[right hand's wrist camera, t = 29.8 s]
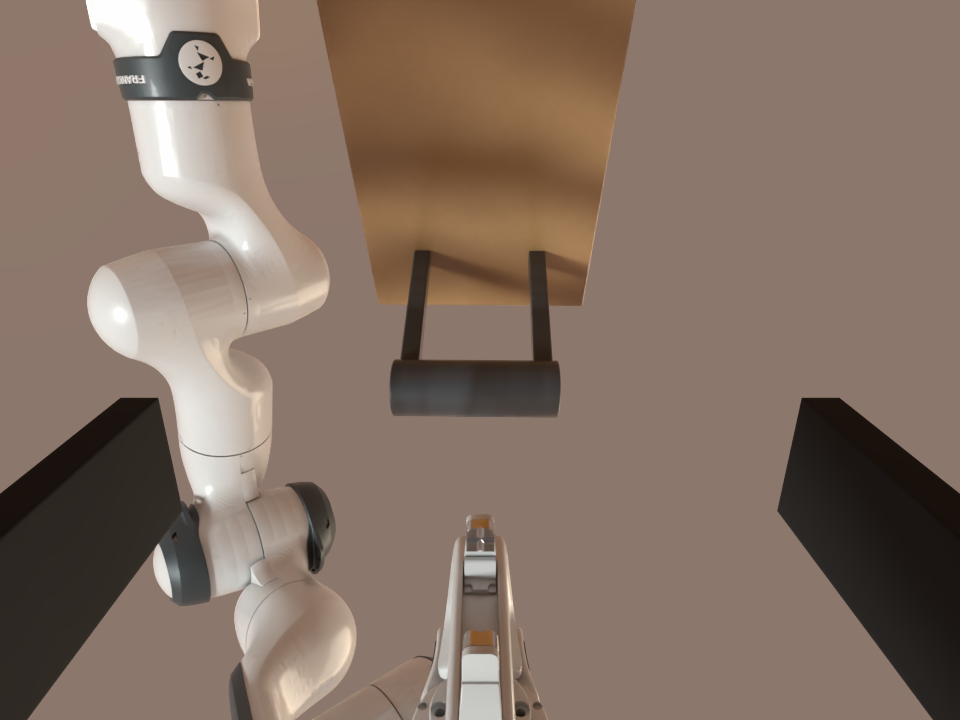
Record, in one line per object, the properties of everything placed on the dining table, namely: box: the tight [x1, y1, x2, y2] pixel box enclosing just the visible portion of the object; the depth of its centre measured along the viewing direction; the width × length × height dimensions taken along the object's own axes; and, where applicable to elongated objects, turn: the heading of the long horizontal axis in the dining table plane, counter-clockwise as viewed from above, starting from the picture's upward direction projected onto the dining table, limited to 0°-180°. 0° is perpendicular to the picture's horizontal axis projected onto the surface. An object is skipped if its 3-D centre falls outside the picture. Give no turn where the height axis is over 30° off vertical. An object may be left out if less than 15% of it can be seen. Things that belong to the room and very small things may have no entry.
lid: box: [317, 0, 636, 418], centre depth 21 cm, size 14×10×9 cm
